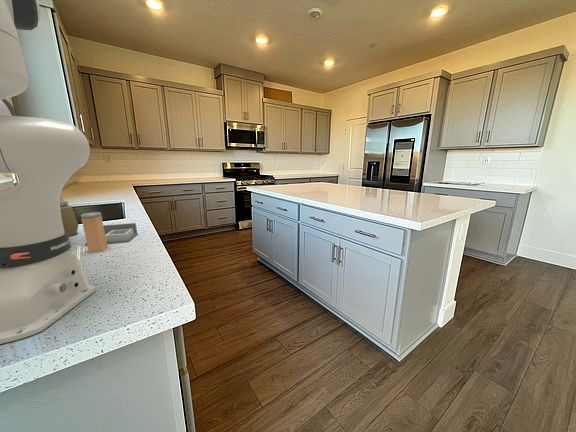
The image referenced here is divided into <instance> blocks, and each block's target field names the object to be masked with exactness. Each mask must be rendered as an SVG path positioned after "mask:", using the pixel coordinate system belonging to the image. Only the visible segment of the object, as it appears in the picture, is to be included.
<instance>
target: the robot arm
mask: <svg viewBox="0 0 576 432" xmlns="http://www.w3.org/2000/svg"><path fill="white" fill-rule="evenodd" d="M40 18H41V7H40V4H39V1H38V0H0V174H15V175H18V183H17V184H16V185H14V186H13V187H10V188H9V189H6V190H4V191H2V192H0V345H1V344H6V343H9V342H14V341H18V340H23V339H24V338H27V337H30V336H34V335H36V334H39V333H41V332H42V331H44V330H46V329H47V328H49V327H50V326H51V325H53V324H54V323H55V322H56V321H57V320H59V319H60V318H61V317H63V316H64V315H65V314H67V313H68V312H70V311H71V310H73V308H75V307H76V306H77V305H79V304H80V303H81V302H83V301H84V300H85V299H88V297H89V296H91V295H92V294H93V293H95V292H96V287H95V286H94V285H93V284H89V282H88V278H87V276H86V272H85V270H84V267H83V265H82V262H81V259H80V258H79V257H77V256H75V255H74V253H73V252H72V251H71V250H70V249H71V246H72V245H71V239H70V236H68V234H67V233H66V232H65V231H64V227H63V222H62V217H61V210H60V196H62V191H63V189H64V186H65V184H66V183H67V181H68V180H69V178H70V177H71V176H72V175H73V174H74V173H76V172H77V171H78V170H80V169H81V168H82V167H83V166H85V165H86V164H87V162H88V160H89V158H90V155H91V154H90V153H91V151H90V150H91V149H90V148H91V147H90V144H89V143H90V142H89V141H88V139H87V136H85V134H84V133H83V131H81V130H80V129H79V128H78V127H77V126H75V125H74V124H72V123H69V122H64V121H61V120H60V121H59V120H54V119H50V118H45V117H34V116H22V115H21V116H20V115H17V113H16V110H15V108H14V107H13V105H12V103H11V102H10V101H8V100H7V99H10V98H13V97H15V96H19V95H21V94H22V93H24V92H25V91H26V90H27V89H28V87H29V84H30V83H29V82H30V81H29V75H28V71H27V68H26V66H27V65H26V63H25V57H24V53H23V50H22V47H21V46H22V45H21V42H20V37H19V34H18V30H22V31H33V30H34V29H36V28H38V25H39V21H40Z"/></svg>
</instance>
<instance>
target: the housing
mask: <svg viewBox="0 0 576 432" xmlns="http://www.w3.org/2000/svg"><path fill="white" fill-rule="evenodd" d="M103 226H104V231H105V236H106V241H107V245H110V244H111V245H112V244H113V243H114V244H123V242H125V243H130V242H131V241H132V240H133V239H135V238H136V236H137V235H138V230H137V224H136V222H131V223H119V224H103ZM129 241H130V242H129ZM84 246H86V247H88V246H87V242H85V245H84Z"/></svg>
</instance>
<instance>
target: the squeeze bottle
mask: <svg viewBox="0 0 576 432" xmlns="http://www.w3.org/2000/svg"><path fill="white" fill-rule="evenodd" d="M60 210H61V217H62V222H63V227H64V231H65V232H66V233H67V234H68V237H72V236H74V235H77V234H78V228H79V223H78V221H77V218H76V215H75V212H74V209H73V206H71V205H69V201H68V200H64V198H63V196H62V195H61V196H60Z"/></svg>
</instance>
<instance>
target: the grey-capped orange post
mask: <svg viewBox="0 0 576 432" xmlns="http://www.w3.org/2000/svg"><path fill="white" fill-rule="evenodd" d="M80 216H81V223H82V227H83V232H84V236H85V237H84V238H85V241H86V242H85V243H87V246H86V247H87V250H88V253H89V254H90V253H98V252H99V253H100V252H104V251H105V250H107V249H108V244H107V241H106V236H105V231H104V226H103V225H104V222H103V215H102V213H101V211H95V212H94V211H92V212H86V213H85V212H84V213H82V214H80Z"/></svg>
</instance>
